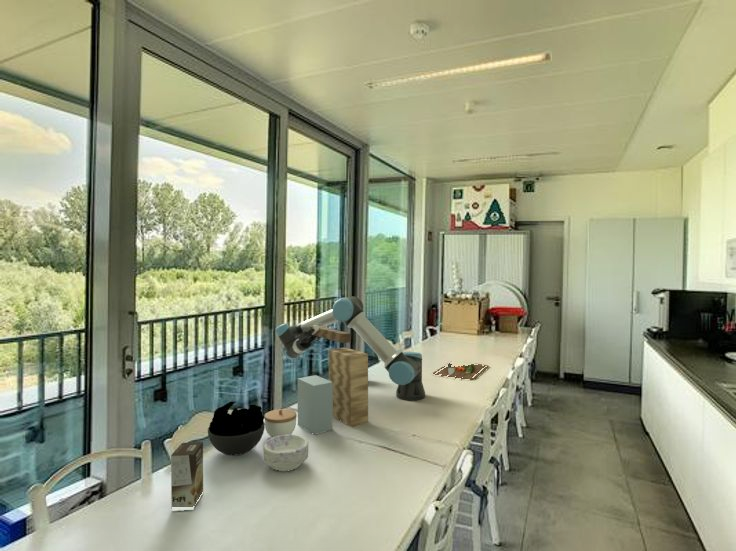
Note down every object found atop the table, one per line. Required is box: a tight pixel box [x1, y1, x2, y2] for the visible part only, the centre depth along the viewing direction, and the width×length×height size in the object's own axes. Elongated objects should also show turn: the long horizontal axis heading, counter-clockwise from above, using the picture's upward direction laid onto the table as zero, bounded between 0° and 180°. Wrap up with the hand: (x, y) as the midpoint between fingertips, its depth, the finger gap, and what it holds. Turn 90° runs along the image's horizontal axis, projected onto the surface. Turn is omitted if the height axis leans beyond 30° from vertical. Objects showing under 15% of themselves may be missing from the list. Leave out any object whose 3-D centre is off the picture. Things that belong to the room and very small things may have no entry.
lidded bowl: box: [263, 408, 298, 438], centre depth 174 cm, size 13×13×11 cm
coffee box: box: [170, 441, 204, 508], centre depth 126 cm, size 9×6×16 cm
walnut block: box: [310, 326, 351, 344], centre depth 207 cm, size 30×4×4 cm, turn 37°
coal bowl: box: [207, 401, 266, 457], centre depth 159 cm, size 20×20×19 cm
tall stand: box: [328, 347, 369, 427], centre depth 194 cm, size 18×9×30 cm, turn 37°
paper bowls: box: [262, 434, 309, 472], centre depth 150 cm, size 15×15×8 cm
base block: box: [296, 374, 334, 435], centre depth 184 cm, size 14×9×20 cm, turn 37°
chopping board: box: [432, 362, 490, 381], centre depth 281 cm, size 45×27×3 cm, turn 151°
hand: (322, 326), depth 212 cm, fingers closed on walnut block, 4 cm apart
